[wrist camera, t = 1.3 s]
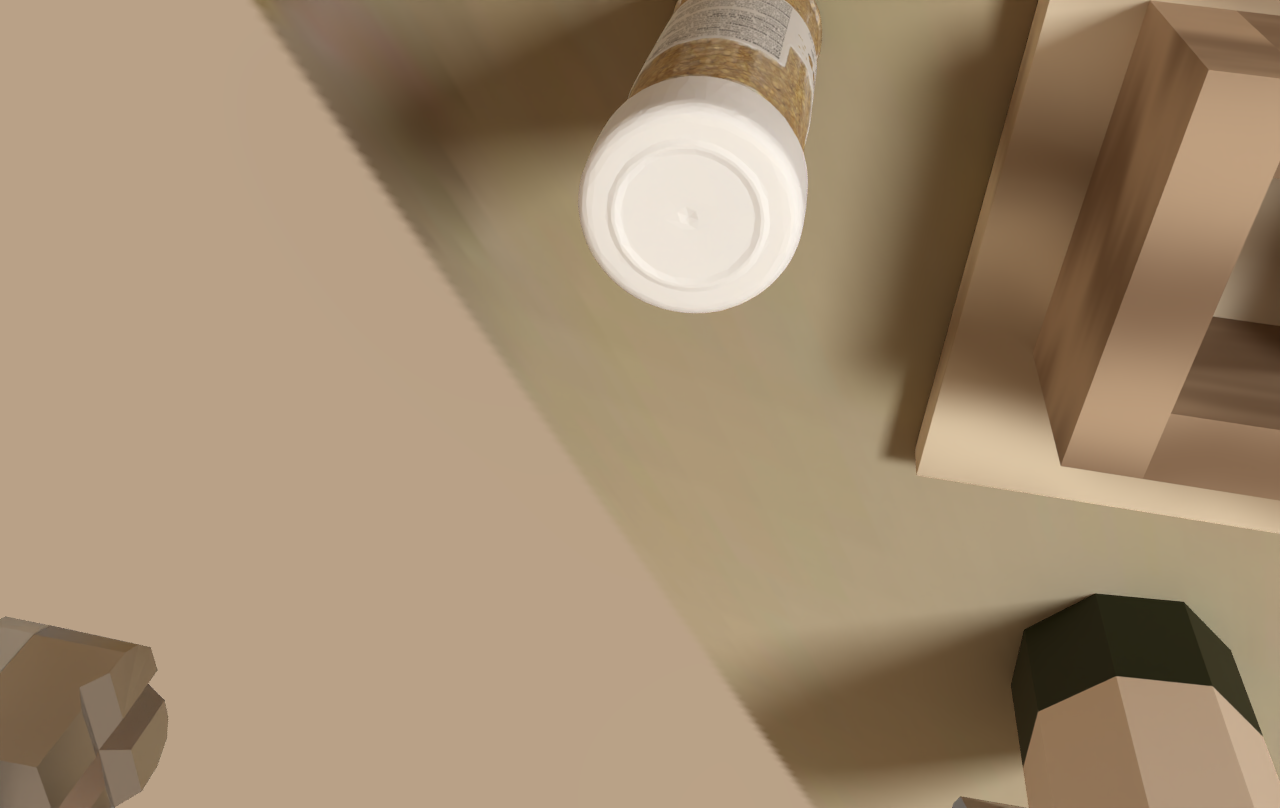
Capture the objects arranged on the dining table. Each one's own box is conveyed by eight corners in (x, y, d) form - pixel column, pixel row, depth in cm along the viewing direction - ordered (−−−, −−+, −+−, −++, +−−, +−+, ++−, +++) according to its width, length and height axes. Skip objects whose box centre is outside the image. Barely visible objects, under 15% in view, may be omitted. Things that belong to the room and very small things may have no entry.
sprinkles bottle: (796, 124, 34) (766, 347, 23) (654, 84, 34) (555, 287, 23) (845, -27, 31) (836, 143, 20) (690, -71, 31) (597, 76, 20)
